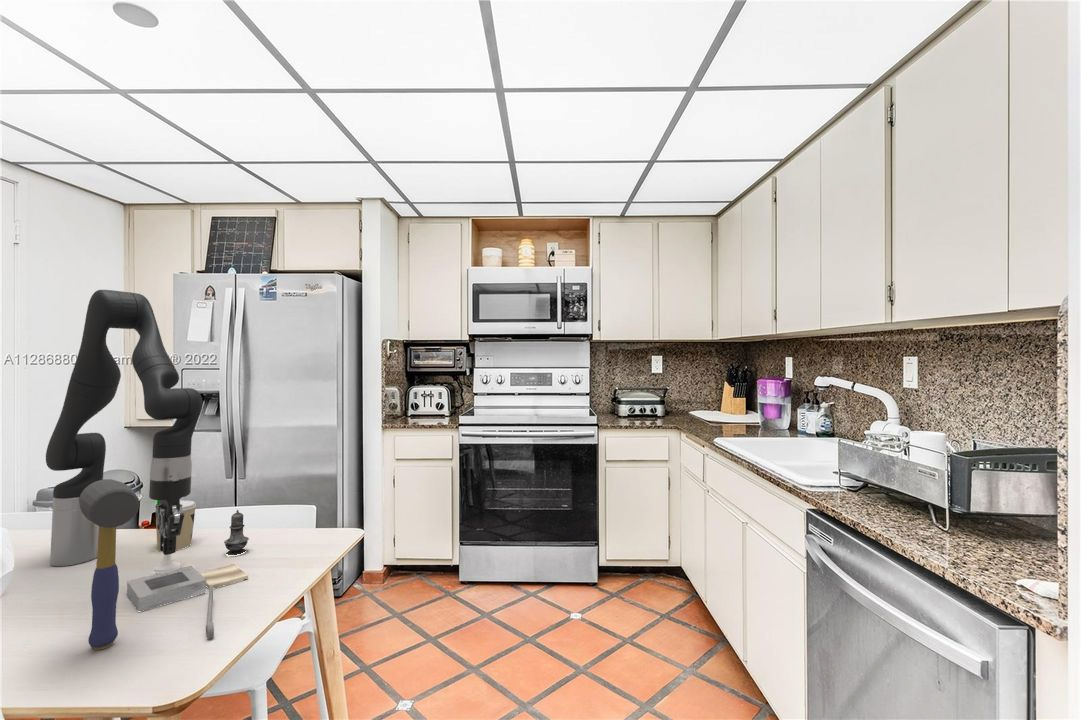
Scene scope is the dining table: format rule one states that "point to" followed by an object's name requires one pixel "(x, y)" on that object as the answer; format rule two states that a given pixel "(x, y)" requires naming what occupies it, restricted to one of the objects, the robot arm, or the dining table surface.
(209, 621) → the combination wrench
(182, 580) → the socket block
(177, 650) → the dining table surface
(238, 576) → the birch pad
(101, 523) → the rubber mallet
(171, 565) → the chess piece
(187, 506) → the coffee cup
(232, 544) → the salt shaker
